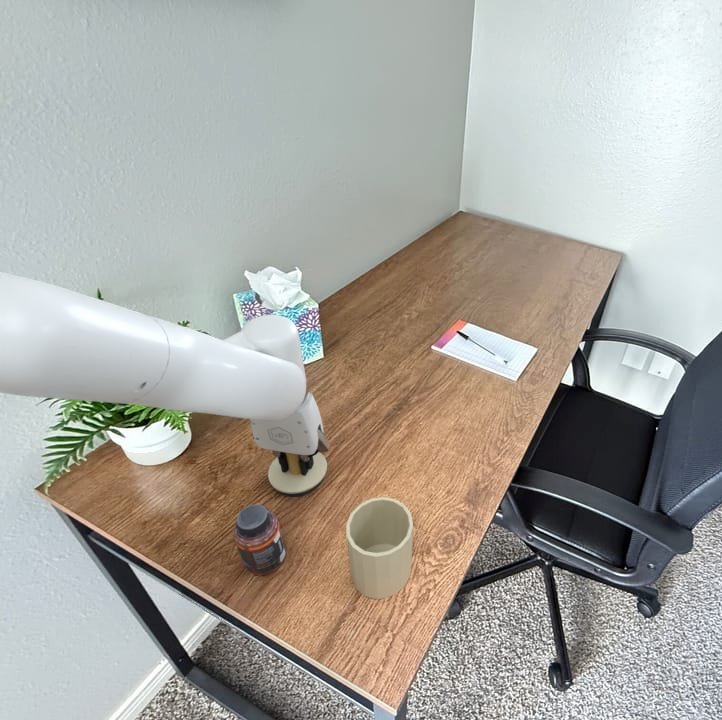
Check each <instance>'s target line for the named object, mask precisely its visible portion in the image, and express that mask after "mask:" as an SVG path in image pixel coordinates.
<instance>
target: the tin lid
mask: <svg viewBox="0 0 722 720" xmlns="http://www.w3.org/2000/svg"><path fill="white" fill-rule="evenodd" d="M285 453H286V452H285ZM286 458H287V462H288V466H289V469H288V471H287V472H286V473H284V472H282V469H281V465H280V464H279V461H278V457H275V458H274V459H273V461H272V462H271V464H270V466H269V468H268V471H267V477H268V481H269V483H270V485H271V486H272V488H273V489H274V488H275V489H276V490H278V491H280V492H283V493H288V494H295V493H301V492H305V491H307V490H310V489H311V488H313V487H315V486H316V485H317V484H319V483H320V482H321V480H322V479H323V478H324V479H325V477H324V476H326V474H327V471H328V463H327V460H326V457H325V456H324V454H323V453H320V452H319V453H317V454H316V455H314V456H313V461H314V464H313V467H312V469H309V470H308V472H307V474H306V476H303V475H302V474H301V470H300V465H299V460H300V458H301V456H300V454H293V453H286ZM275 489H274V490H275ZM276 490H275V491H276Z"/></svg>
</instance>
